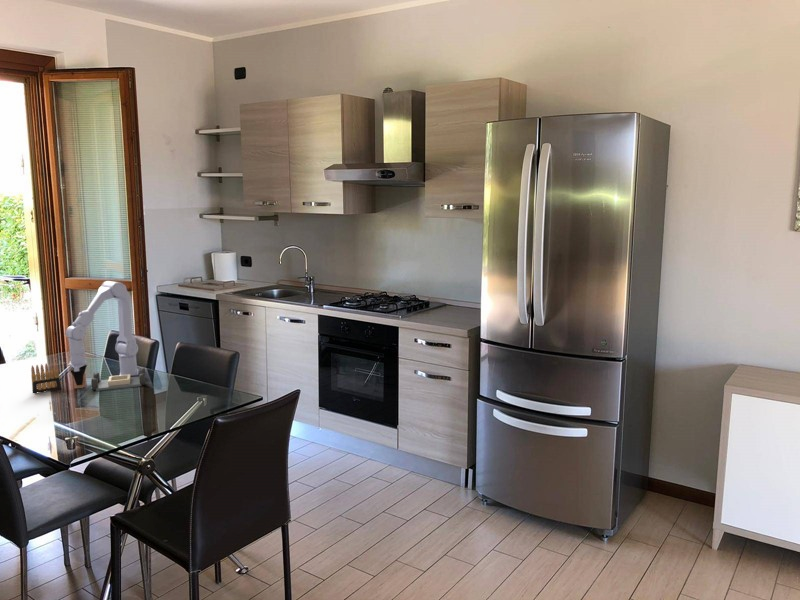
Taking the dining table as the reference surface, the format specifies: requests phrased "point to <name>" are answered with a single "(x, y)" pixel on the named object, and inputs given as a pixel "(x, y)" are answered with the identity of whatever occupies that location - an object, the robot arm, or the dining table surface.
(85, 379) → the block
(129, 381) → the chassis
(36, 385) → the ammunition clip
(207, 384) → the dining table surface
